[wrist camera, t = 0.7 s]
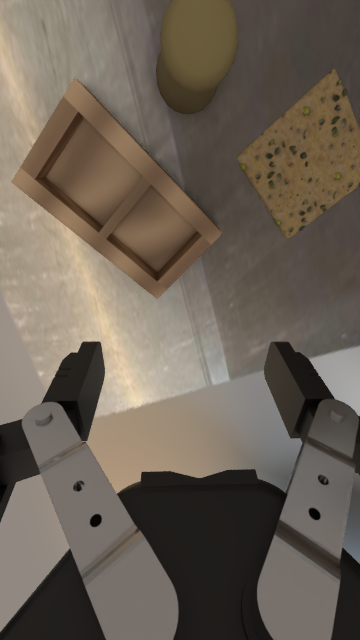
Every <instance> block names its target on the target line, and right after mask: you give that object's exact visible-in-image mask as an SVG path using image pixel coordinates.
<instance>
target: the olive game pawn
mask: <svg viewBox="0 0 360 640" xmlns="http://www.w3.org/2000/svg"><path fill="white" fill-rule="evenodd" d="M160 37H161V53H160V55H159V57H158V62H157V68H156V76H157V85H158V88H159V91H160V94H161V96H162V97H163V99H164V100H165V102H166V103H167V105H168V106H170V107H171V108H172V109H173V110H175V111H177V112H180V113H183V114H193V113H196V112H198V111H200V110H202V109H203V108H204V107H205V106H206V105H207V104H208V103H209V102H210V101H211V99H212V97H213V96H214V94H215V92H216V88H217V84H218V83H219V82H220V81H221V80H222V79H223V78H224V77H225V76H226V75H227V73H228V72H229V70H230V68H231V66H232V64H233V63H234V59H235V55H236V51H237V48H238V23H237V18H236V13H235V10H234V8H233V6H232V4H231V2H230V0H171V2H170V3H169V5H168V8H167V10H166V12H165V14H164V17H163V22H162V28H161V34H160Z"/></svg>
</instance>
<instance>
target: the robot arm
mask: <svg viewBox="0 0 360 640" xmlns="http://www.w3.org/2000/svg"><path fill="white" fill-rule="evenodd" d="M264 375H265V379H266V382H267V384H268V386H269V389H270V391H271V393H272V396H273V398H274V400H275V403H276V405H277V408H278V410H279V412H280V415H281V417H282V420H283V422H284V424H285V427H286V429H287V431H288V434H289V436H290V438H301V440H302V443H303V444H302V446H301V449H300V451H299V454H298V457H297V460H296V462H295V465H294V468H293V471H292V473H291V476H290V479H289V482H288V484H287V487H286V489H285V492H284V491H282V490H281V489H279V488H278V487H276V486H274V485H272V484H270V483H268V482H266V481H263V480H260V479H258V478H257V474H256V471H255V469H251V470H226V471H223V472H220V473H216V474H213V475H210V476H207V477H203V478H195V477H191V476H187V475H183V474H178V473H175V472H171V471H163V472H142V474H141V481H140V482H137V483H134V484H132V485H130V486H128V487H126V488H125V489H123V490H121V491H120V492H119V493H117V494H116V492H115V490H114V489H113V487H112V485H111V483H110V482H109V480H108V478H107V477H106V475H105V473H104V471H103V470H102V468H101V466H100V465H99V463H98V461H97V460H96V458H95V456H94V455H93V453H92V451H91V450H90V448H89V446H88V445H87V443H86V442H82V441H87V439H88V436H89V432H90V429H91V425H92V421H93V418H94V414H95V411H96V407H97V403H98V400H99V396H100V392H101V389H102V385H103V381H104V376H105V367H104V360H103V354H102V347H101V343H100V342H83V343H82V344H81V347H80V349H79V351H78V353H70V354H69V355H68V356H67V357H66V358H64V359H63V360H62V363H61V365H60V367H59V370H58V371H57V373H56V375H55V377H54V379H53V381H52V383H51V385H50V387H49V389H48V391H47V393H46V395H45V397H44V399H43V401H42V403H41V404H39V405H37V406H35V407H33V408H32V409H30V410H29V411H28V412H27V413H26V414H25V416H24V418H23V419H21V420H18V421H14V422H11V423H7V424H3V425H0V522H1V519H2V517H3V514H4V511H5V509H6V506H7V504H8V501H9V498H10V496H11V494H12V491H13V488H14V486H15V483H16V482H18V481H21V480H23V479H27V478H29V477H32V476H36V475H39V474H41V476H42V478H43V481H44V484H45V486H46V489H47V491H48V494H49V496H50V498H51V501H52V504H53V506H54V508H55V511H56V514H57V516H58V519H59V521H60V524H61V526H62V529H63V531H64V534H65V536H66V539H67V542H68V544H69V547H70V549H69V550H68V551H67V552H66V554H65V555H64V556H63V557H62V558H61V560H60V561H59V562H58V563H57V564H56V566H55V567H54V568H53V569H52V570H51V572H50V573H49V574H48V575H47V576H46V578H45V579H44V580H43V581H42V583H41V584H40V585H39V586H38V587H37V589H36V590H35V591H34V592H33V593H32V595H31V596H30V597H29V598H28V599H27V601H26V602H25V603H24V604H23V605H22V607H21V608H20V609H19V611H18V612H17V613H16V614H15V615H14V617H13V618H12V619H11V620H10V621H9V622H8V624H7V625H6V626H5V627H4V628H3V630H2V631H1V632H0V640H360V564H359V563H358V562H357V561H356V560H355V559H354V558H353V557H352V556H351V555H350V554H349V553H347V551H346V550H345V549H344V548H343V547H342V546H343V539H344V534H345V527H346V521H347V515H348V509H349V503H350V497H351V491H352V485H353V479H354V473H359V475H360V416H358V415H357V414H356V412H355V411H354V410H353V409H352V408H351V407H350V406H348V405H347V404H345V403H343V402H341V401H339V400H335V399H334V397H333V395H332V394H331V392H330V391H329V389H328V388H327V386H326V385H325V383H324V382H323V380H322V379H321V377H320V376H319V375H318V373H317V372H316V370H315V369H314V367H313V365H312V364H311V362H310V361H309V359H308V358H306V357H305V356H304V355H302V354H301V353H300V352H295V351H294V349H293V348H292V346H291V345H290V343H289V342H271V343H270V346H269V350H268V354H267V358H266V362H265V367H264Z"/></svg>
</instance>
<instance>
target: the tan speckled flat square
mask: <svg viewBox="0 0 360 640" xmlns="http://www.w3.org/2000/svg"><path fill="white" fill-rule="evenodd" d="M347 93H348V92H347V90H346V89H345V88H344V87H343V85H342V82H341V79H339V77H338V75H337V72H336V70H335V69H333V70H332V71H331V72H330V73H329V74H328V75H326V76H325V77H324V78H323V79H322V80H320V81H319V82H318V83H317V84H316V85H315V86H314V87H313V88H312V89H311V90H309V91H308V92H307V93H306V94H305V95H304V96H302V97H301V98H300V99H299V100H298V101H297V102H296V104H294V105H293V106H292V107H291V108H290V109H289V110H288V111H286V112H285V113H284V115H283V116H281V117H280V118H279V119H278V120H276V121H275V122H274V123H273V124H272V125H271V126H270V127H268V128H267V129H266V130H265V131H264V133H263V134H262V135H260V136H259V137H258V138H257V139H256V140H254V141H253V142H252V143H251V144H250V145H249V146H248V147H247V148H246V149H245V150H244V151H243V152H241V153H240V154H238V155H237V157H236V159H237V161H238V162H239V164H240V167H241V169H242V171H244V172H245V174H246V176H247V178H248V179H249V181H250V183H251V184H252V185H253V187H254V188H255V190H256V191H257V193H258V195H259V197H260V198H261V199H262V201H263V202H264V204H265V206H266V208H267V209H268V211H269V213H270V214H271V215H272V217H273V218H274V220H275V222H276V224H277V225H278V226H279V228H280V230H281V231H282V233H283V235H284V236H285V237H286V238H287V239H288V238H290V237H292V236H293V235H295V234H296V233H297V232H298V231H301V230H302V229H303V228H304V227H305V226H306V225H308V224H310V223H311V222H312V221H313V220H314V219H315V218H317V217H318V216H320V215H321V214H322V213H324V212H325V211H326V210H328V209H329V208H330V207H331V206H333V205H334V204H336V203H337V202H338V201H339V200H340V199H342V198H343V197H344V196H346V195H347V194H349V193H350V192H352V191H353V190H354V189H355V188H357V187H358V186H360V128H359V126H358V124H357V122H356V120H355V117H354V113H353V110H352V108H351V104H350V102H349V99H348V96H347Z"/></svg>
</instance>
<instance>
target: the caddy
mask: <svg viewBox="0 0 360 640" xmlns="http://www.w3.org/2000/svg"><path fill="white" fill-rule="evenodd" d="M12 183H13V184H14V185H15V186H17V187H18V188H19V189H20V190H22V191H23V192H24V193H25V194H27V195H28V196H29V197H30V198H32V199H33V200H34V201H35V202H37V203H38V204H39V205H40V206H42V207H43V208H44V209H45V210H47V211H48V212H49V213H50V214H52V215H53V216H54V217H55V218H57V219H58V220H59V221H60V222H62V223H63V224H64V225H65V226H67V227H68V228H69V229H70V230H72V231H73V232H74V233H75V234H77V235H78V236H79V237H80V238H82V239H83V240H84V241H85V242H87V243H88V244H89V245H90V246H92V247H93V248H94V249H95V250H97V251H98V252H99V253H100V254H102V255H103V256H104V257H105V258H107V259H108V260H109V261H110V262H112V263H113V264H114V265H115V266H117V267H118V268H119V269H120V270H122V271H123V272H124V273H125V274H127V275H128V276H129V277H130V278H132V279H133V280H134V281H135V282H137V283H138V284H139V285H140V286H142V287H143V288H144V289H145V290H147V291H148V292H149V293H150V294H152V295H153V296H154V297H155V298H157V299H158V298H159V297H160V296H161V295H162V294H163V293H164V292H165V291H166V290H167V289H168V288H169V287H170V286H171V285H172V284H173V283H174V282H175V281H176V280H177V279H178V278H179V277H180V276H181V275H182V274H183V273H184V272H185V271H186V270H187V269H188V268H189V267H190V266H191V265H192V264H193V263H194V262H195V261H196V260H197V259H198V258H199V257H200V256H201V255H202V254H203V253H204V252H205V251H206V250H207V249H208V248H209V247H210V246H211V245H212V244H213V243H214V242H215V241H216V240H217V239H218V238H219V237H220V236H221V235H222V234H223V233H222V232H221V231H220V229H219V228H218V227H217V226H216V224H215V223H214V222H213V221H212V220H211V219H210V218H209V217H208V216H207V215H206V214H205V213H204V212H203V211H202V210H201V209H200V208H199V206H198V205H197V204H196V203H195V202H194V201H193V200H192V199H191V198H190V197H189V196H188V195H187V194H186V193H185V192H184V191H183V190H182V189H181V187H180V186H179V185H178V184H177V183H176V182H175V181H174V180H173V179H172V178H171V177H170V176H169V175H168V174H167V173H166V172H165V171H164V170H163V168H162V167H161V166H160V165H159V164H158V163H157V162H156V161H155V160H154V159H153V158H152V157H151V156H150V155H149V154H148V153H147V152H146V151H145V149H144V148H143V147H142V146H141V145H140V144H139V143H138V142H137V141H136V140H135V139H134V138H133V137H132V136H131V135H130V134H129V133H128V132H127V130H126V129H125V128H124V127H123V126H122V125H121V124H120V123H119V122H118V121H117V120H116V119H115V118H114V117H113V116H112V115H111V114H110V113H109V111H108V110H107V109H106V108H105V107H104V106H103V105H102V104H101V103H100V102H99V101H98V100H97V99H96V98H95V97H94V96H93V95H92V93H91V92H90V91H89V90H88V89H87V88H86V87H85V86H84V85H83V84H82V83H80V82H79V81H78V80H77V79H76V78H74V79H73V81H72V83H71V84H70V86H69V88H68V89H67V91H66V93H65V94H64V96H63V98H62V99H61V101H60V103H59V104H58V106H57V108H56V109H55V111H54V113H53V114H52V116H51V118H50V119H49V121H48V122H47V124H46V126H45V127H44V129H43V131H42V132H41V134H40V136H39V137H38V139H37V141H36V142H35V144H34V146H33V147H32V149H31V151H30V152H29V154H28V156H27V157H26V159H25V160H24V162H23V164H22V165H21V167H20V169H19V170H18V172H17V174H16V175H15V177H14V179H13V180H12Z"/></svg>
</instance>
